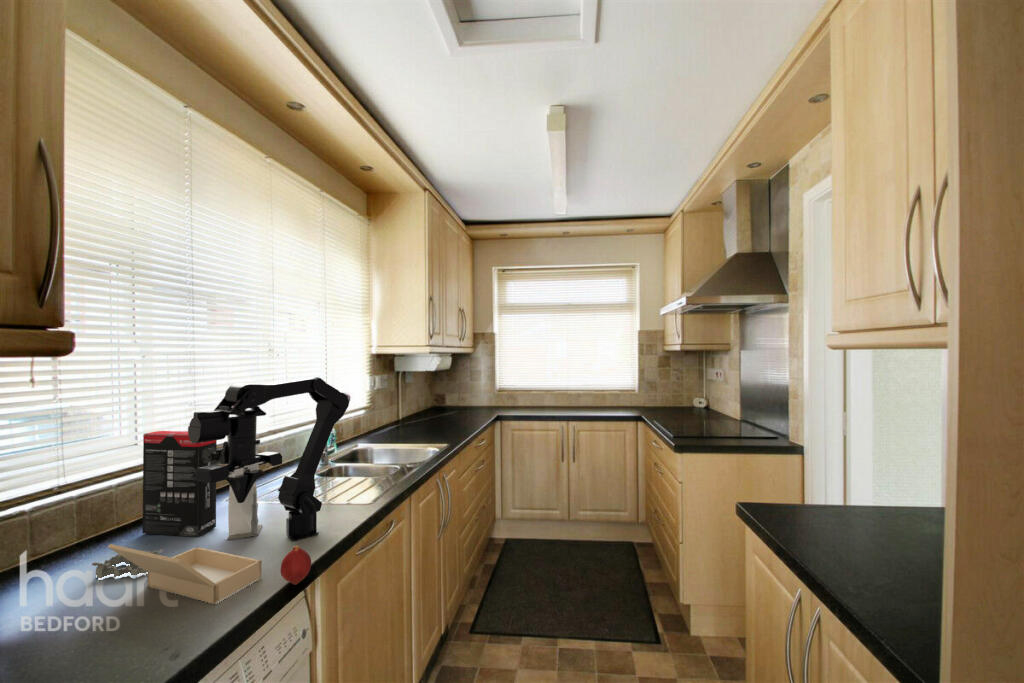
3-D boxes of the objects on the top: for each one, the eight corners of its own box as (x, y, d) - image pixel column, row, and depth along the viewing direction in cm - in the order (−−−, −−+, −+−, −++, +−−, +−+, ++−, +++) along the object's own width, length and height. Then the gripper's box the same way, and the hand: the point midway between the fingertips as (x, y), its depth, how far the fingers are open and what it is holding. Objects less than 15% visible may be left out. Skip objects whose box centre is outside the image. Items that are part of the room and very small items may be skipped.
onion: (282, 579, 93) (282, 541, 93) (312, 574, 95) (312, 537, 95) (278, 593, 87) (278, 553, 87) (309, 588, 89) (310, 548, 89)
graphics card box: (218, 527, 121) (219, 429, 121) (198, 538, 114) (199, 434, 114) (162, 525, 122) (163, 429, 123) (139, 536, 115) (140, 433, 116)
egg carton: (88, 583, 92) (88, 563, 93) (118, 565, 100) (118, 547, 100) (139, 581, 93) (139, 561, 93) (166, 563, 100) (166, 546, 101)
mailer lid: (110, 543, 84) (107, 546, 84) (180, 559, 78) (177, 563, 77) (147, 567, 90) (145, 570, 90) (215, 584, 83) (213, 587, 83)
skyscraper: (220, 541, 112) (221, 432, 113) (228, 529, 119) (228, 427, 120) (258, 535, 115) (258, 430, 116) (262, 524, 123) (263, 425, 123)
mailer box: (196, 564, 100) (196, 547, 100) (261, 579, 93) (261, 560, 93) (147, 586, 90) (147, 567, 90) (215, 605, 83) (215, 584, 83)
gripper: (252, 428, 115) (250, 488, 114) (177, 441, 97) (175, 511, 97) (284, 430, 111) (283, 492, 110) (213, 444, 93) (211, 517, 93)
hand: (240, 502), depth 103 cm, fingers closed
